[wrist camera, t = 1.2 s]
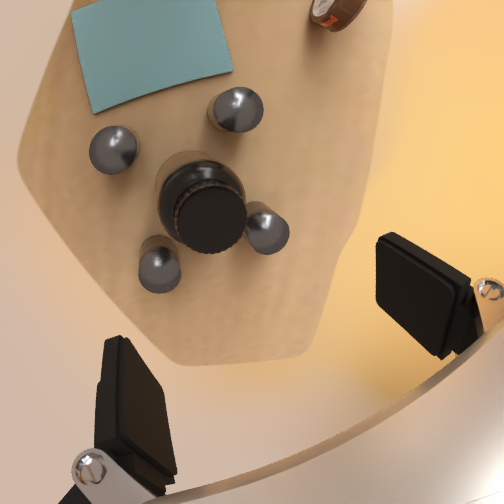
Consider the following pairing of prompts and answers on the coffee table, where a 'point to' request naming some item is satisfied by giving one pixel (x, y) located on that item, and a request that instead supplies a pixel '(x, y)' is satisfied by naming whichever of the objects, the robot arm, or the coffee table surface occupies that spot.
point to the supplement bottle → (201, 202)
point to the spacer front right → (235, 110)
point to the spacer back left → (159, 265)
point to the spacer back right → (265, 229)
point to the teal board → (147, 47)
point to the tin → (335, 13)
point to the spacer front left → (114, 149)
